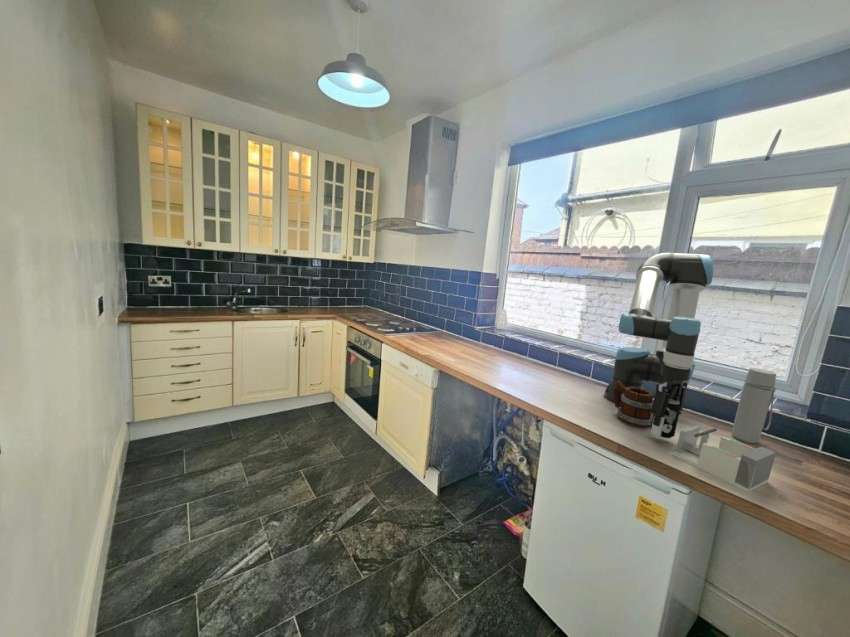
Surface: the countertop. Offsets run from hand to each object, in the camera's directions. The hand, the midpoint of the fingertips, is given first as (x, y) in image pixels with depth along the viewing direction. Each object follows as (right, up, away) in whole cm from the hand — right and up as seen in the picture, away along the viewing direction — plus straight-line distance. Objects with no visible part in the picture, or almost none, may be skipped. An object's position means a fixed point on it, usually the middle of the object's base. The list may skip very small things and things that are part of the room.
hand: (662, 432), depth 111 cm
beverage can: (0, -1, 0) cm, 1 cm away
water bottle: (+35, -5, +7) cm, 36 cm away
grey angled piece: (+5, -4, -9) cm, 10 cm away
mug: (-1, 0, +16) cm, 16 cm away
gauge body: (+7, -6, -13) cm, 16 cm away
